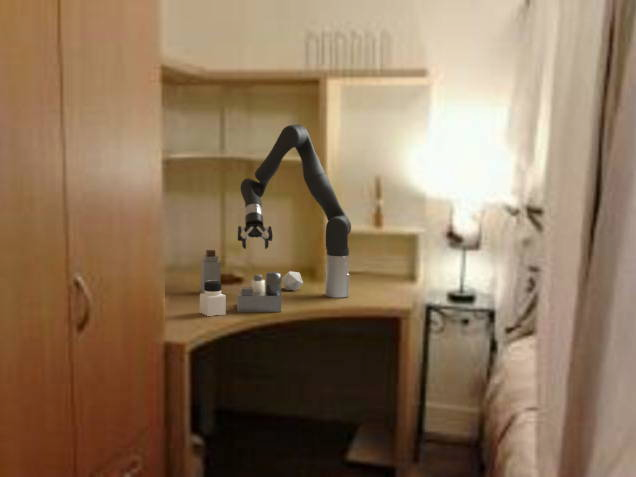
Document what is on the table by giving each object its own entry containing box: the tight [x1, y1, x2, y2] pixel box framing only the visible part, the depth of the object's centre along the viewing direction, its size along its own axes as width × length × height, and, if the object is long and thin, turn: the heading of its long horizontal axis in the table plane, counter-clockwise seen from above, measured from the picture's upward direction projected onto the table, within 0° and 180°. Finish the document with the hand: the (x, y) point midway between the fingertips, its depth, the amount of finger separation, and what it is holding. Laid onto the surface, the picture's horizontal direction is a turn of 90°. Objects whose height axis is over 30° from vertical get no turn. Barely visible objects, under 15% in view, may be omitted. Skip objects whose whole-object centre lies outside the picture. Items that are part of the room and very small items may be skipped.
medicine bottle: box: [199, 280, 227, 317], centre depth 233 cm, size 7×7×12 cm
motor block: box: [236, 271, 283, 313], centre depth 244 cm, size 16×13×14 cm
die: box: [281, 270, 304, 292], centre depth 281 cm, size 8×9×10 cm
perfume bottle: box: [200, 249, 222, 294], centre depth 268 cm, size 7×7×18 cm
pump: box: [250, 273, 266, 293], centre depth 248 cm, size 5×5×12 cm
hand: (255, 247), depth 264 cm, fingers open, 8 cm apart
